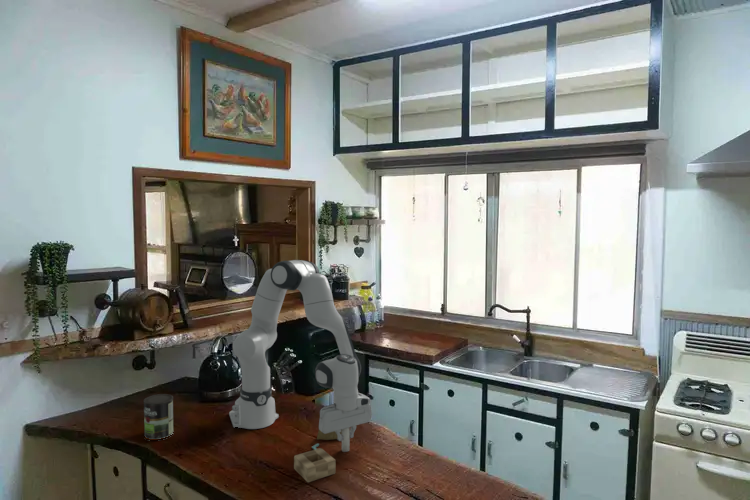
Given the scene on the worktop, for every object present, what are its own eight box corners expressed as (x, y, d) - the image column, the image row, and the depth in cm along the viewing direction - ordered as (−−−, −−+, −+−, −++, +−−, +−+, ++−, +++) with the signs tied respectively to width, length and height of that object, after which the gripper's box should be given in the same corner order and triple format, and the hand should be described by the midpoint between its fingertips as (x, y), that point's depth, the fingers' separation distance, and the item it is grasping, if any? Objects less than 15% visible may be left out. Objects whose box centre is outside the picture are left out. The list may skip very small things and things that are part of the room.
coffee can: (157, 443, 181) (157, 405, 180) (138, 437, 185) (137, 400, 184) (179, 432, 190) (179, 396, 189) (160, 427, 194) (159, 392, 193)
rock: (353, 428, 190) (332, 419, 195) (348, 416, 184) (327, 407, 189) (339, 453, 183) (317, 443, 188) (333, 441, 178) (311, 431, 183)
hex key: (310, 446, 179) (310, 445, 179) (318, 444, 181) (318, 443, 181) (325, 459, 170) (325, 457, 170) (333, 456, 172) (333, 455, 172)
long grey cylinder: (340, 449, 178) (340, 422, 177) (346, 447, 179) (347, 420, 178) (344, 452, 175) (344, 425, 174) (350, 450, 177) (351, 423, 176)
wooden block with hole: (294, 468, 164) (294, 455, 163) (320, 460, 169) (321, 447, 169) (307, 482, 155) (307, 468, 155) (335, 473, 161) (335, 460, 161)
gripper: (324, 410, 167) (324, 449, 168) (374, 398, 179) (373, 435, 180) (315, 404, 173) (315, 442, 174) (364, 392, 184) (364, 428, 185)
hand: (345, 438), depth 177 cm, fingers closed on long grey cylinder, 3 cm apart
